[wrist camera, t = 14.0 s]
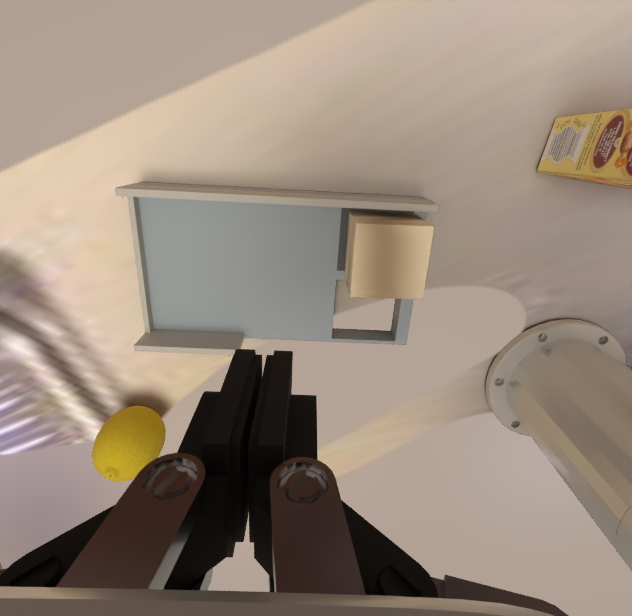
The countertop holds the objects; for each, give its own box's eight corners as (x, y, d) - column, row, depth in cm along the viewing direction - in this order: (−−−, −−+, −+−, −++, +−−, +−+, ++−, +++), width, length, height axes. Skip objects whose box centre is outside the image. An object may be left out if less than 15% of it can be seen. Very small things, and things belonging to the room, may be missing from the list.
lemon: (159, 443, 40) (125, 510, 33) (110, 417, 39) (63, 480, 32) (186, 408, 39) (157, 470, 31) (136, 379, 37) (93, 437, 30)
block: (415, 213, 30) (434, 226, 25) (406, 276, 31) (422, 299, 27) (349, 210, 29) (356, 223, 25) (344, 274, 31) (350, 296, 27)
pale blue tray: (422, 196, 31) (441, 206, 26) (401, 334, 36) (414, 362, 31) (141, 181, 30) (111, 188, 26) (158, 323, 35) (134, 351, 31)
